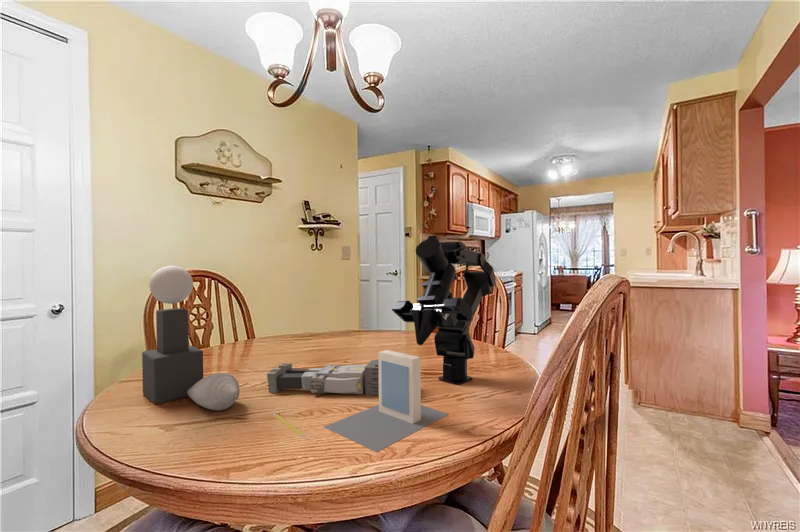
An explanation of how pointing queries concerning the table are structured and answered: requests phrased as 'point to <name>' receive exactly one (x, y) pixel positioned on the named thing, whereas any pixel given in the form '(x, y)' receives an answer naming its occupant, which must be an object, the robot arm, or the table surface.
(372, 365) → the toy figure
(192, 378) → the sculpture
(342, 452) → the table surface
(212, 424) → the table surface
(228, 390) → the seashell
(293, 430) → the pencil
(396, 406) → the cream rectangular block
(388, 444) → the mat
